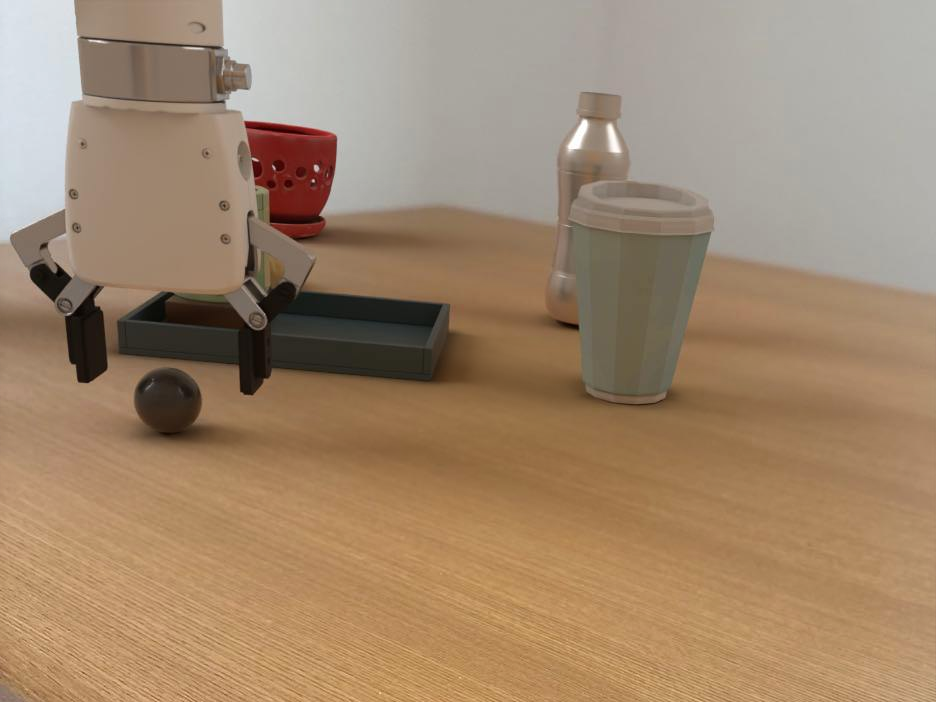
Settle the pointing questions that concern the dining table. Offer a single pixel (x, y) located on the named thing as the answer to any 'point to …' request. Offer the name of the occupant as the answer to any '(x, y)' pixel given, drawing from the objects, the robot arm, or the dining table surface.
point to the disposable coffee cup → (636, 283)
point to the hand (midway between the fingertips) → (172, 383)
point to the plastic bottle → (579, 163)
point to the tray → (308, 335)
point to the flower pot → (293, 174)
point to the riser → (203, 313)
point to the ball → (167, 400)
